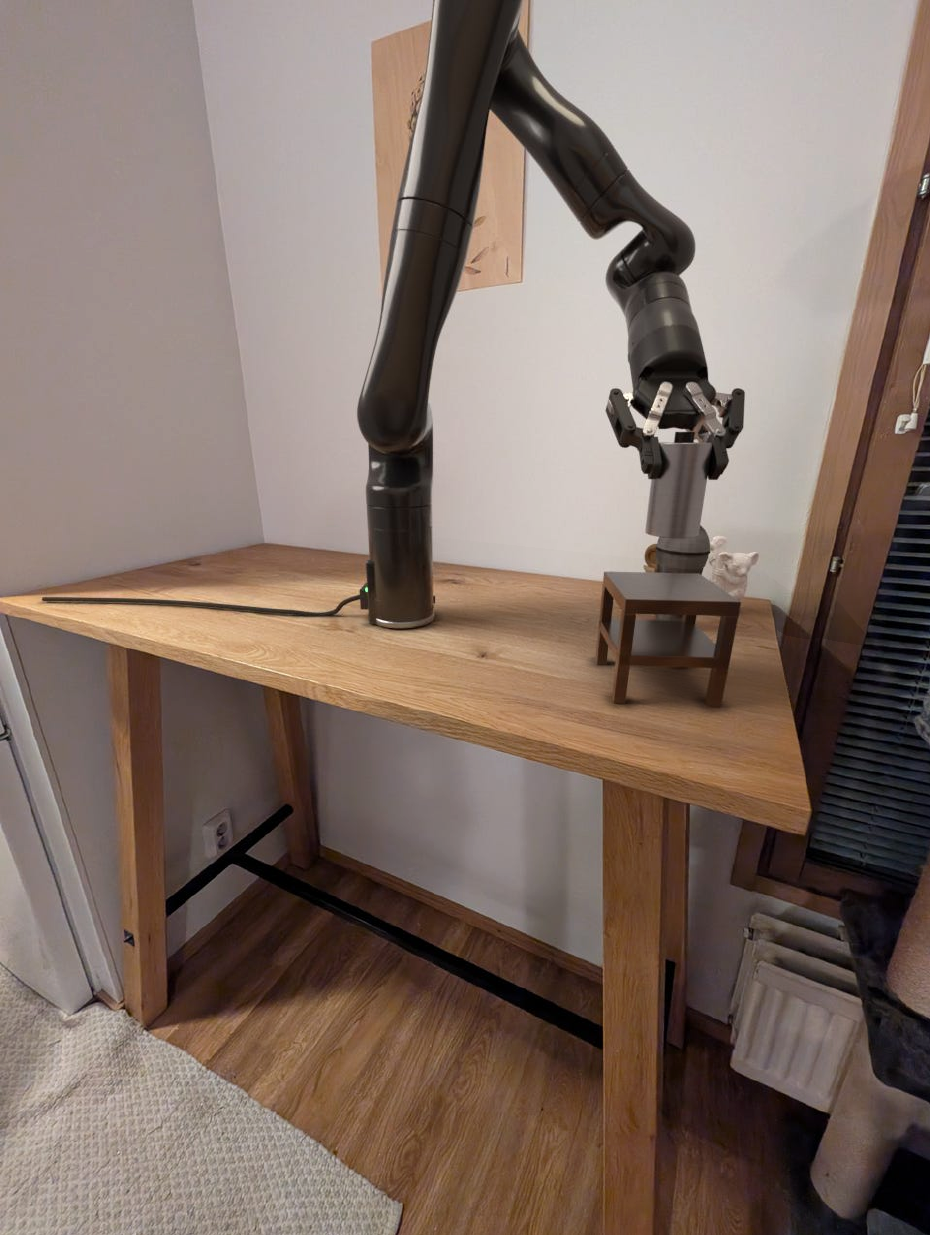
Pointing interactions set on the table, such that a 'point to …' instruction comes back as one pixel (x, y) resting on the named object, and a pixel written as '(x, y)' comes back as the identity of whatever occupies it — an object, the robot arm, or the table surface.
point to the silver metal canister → (679, 488)
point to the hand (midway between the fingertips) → (686, 473)
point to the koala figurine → (730, 567)
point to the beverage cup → (681, 559)
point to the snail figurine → (650, 559)
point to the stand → (665, 627)
